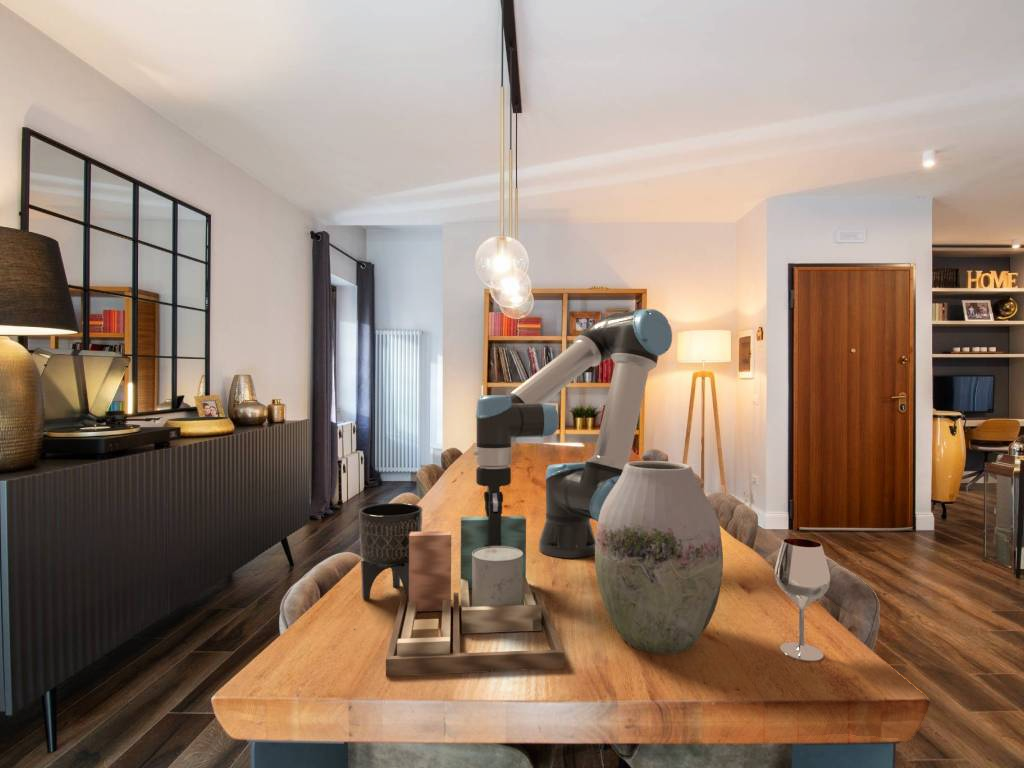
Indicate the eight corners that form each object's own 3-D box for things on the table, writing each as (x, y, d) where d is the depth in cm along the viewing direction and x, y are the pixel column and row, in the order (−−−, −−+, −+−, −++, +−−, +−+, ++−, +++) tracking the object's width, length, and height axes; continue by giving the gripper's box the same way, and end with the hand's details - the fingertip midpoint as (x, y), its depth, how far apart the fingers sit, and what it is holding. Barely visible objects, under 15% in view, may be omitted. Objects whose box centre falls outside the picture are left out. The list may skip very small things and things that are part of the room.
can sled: (524, 581, 128) (524, 516, 128) (541, 630, 102) (541, 548, 102) (460, 583, 126) (460, 517, 126) (461, 633, 101) (462, 550, 101)
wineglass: (764, 642, 99) (765, 536, 99) (810, 640, 99) (810, 535, 99) (791, 665, 91) (792, 550, 91) (841, 663, 91) (841, 549, 91)
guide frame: (538, 602, 116) (538, 590, 116) (563, 668, 89) (563, 652, 89) (402, 607, 113) (402, 594, 113) (385, 676, 86) (385, 659, 86)
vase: (750, 658, 93) (751, 471, 93) (631, 677, 87) (632, 476, 87) (676, 609, 113) (677, 455, 113) (575, 621, 107) (576, 459, 107)
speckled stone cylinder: (527, 611, 111) (528, 548, 111) (515, 632, 102) (516, 562, 102) (480, 606, 114) (480, 544, 114) (464, 626, 104) (464, 558, 104)
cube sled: (450, 604, 114) (451, 531, 114) (449, 667, 89) (450, 572, 89) (409, 605, 113) (410, 531, 113) (396, 669, 88) (397, 574, 88)
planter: (366, 611, 111) (367, 518, 111) (352, 589, 123) (352, 506, 123) (430, 599, 117) (431, 512, 117) (411, 580, 129) (411, 500, 129)
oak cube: (438, 642, 98) (438, 618, 98) (437, 653, 94) (437, 628, 94) (414, 643, 98) (414, 619, 98) (412, 654, 94) (412, 629, 94)
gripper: (475, 461, 133) (474, 563, 133) (477, 471, 117) (477, 587, 117) (507, 461, 134) (506, 562, 134) (514, 471, 118) (513, 586, 118)
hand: (493, 574), depth 126 cm, fingers closed on can sled, 3 cm apart
